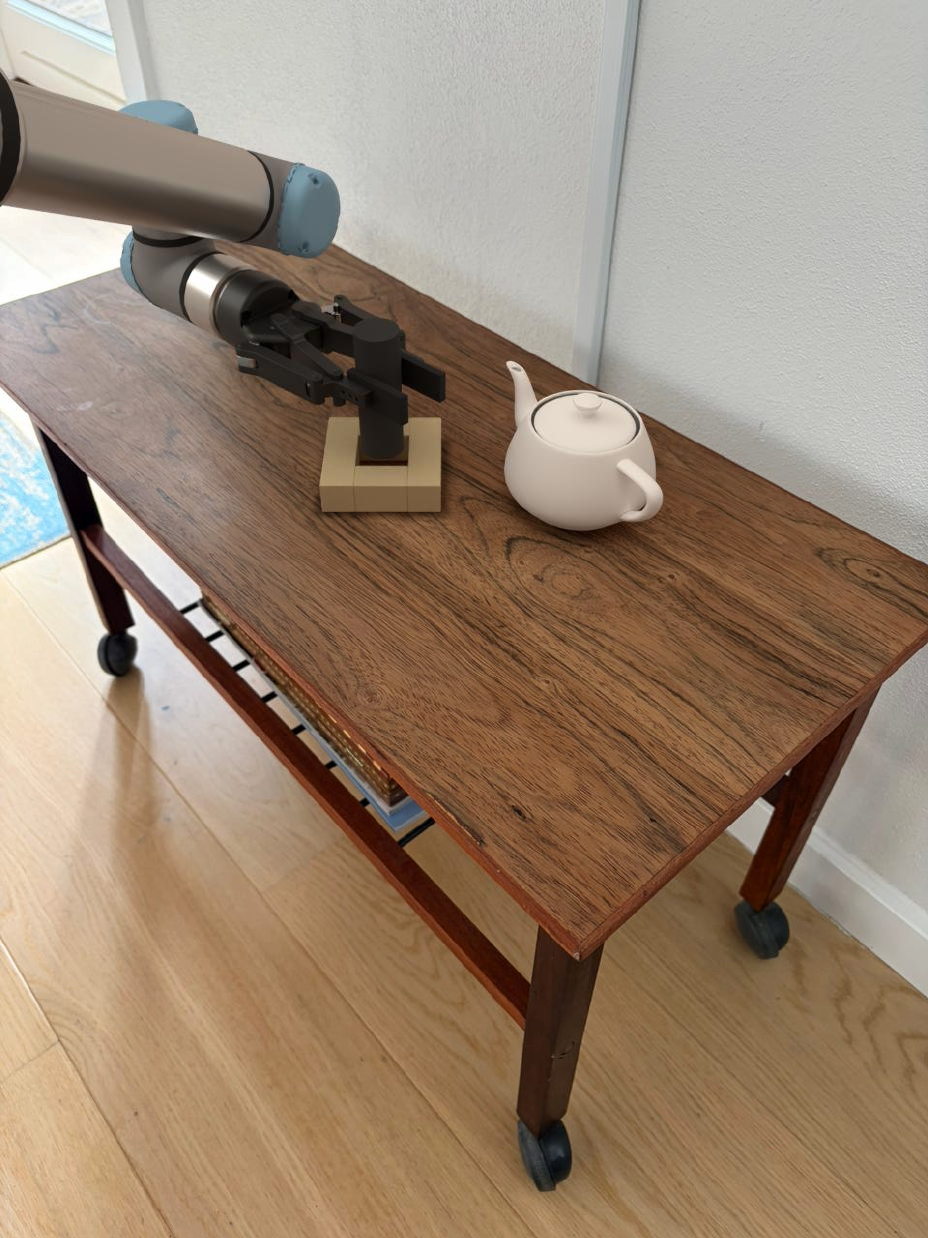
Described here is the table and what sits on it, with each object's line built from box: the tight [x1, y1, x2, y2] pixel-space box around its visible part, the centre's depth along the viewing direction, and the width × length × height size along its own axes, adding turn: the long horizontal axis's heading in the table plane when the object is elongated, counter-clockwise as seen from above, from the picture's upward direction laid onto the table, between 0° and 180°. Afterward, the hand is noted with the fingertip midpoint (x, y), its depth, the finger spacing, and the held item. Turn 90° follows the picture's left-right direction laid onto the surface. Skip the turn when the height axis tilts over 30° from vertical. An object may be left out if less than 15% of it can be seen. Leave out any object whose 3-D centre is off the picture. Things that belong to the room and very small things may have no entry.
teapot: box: [503, 360, 664, 532], centre depth 91 cm, size 22×14×11 cm, turn 33°
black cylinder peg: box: [353, 317, 404, 460], centre depth 90 cm, size 4×4×12 cm
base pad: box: [318, 416, 442, 513], centre depth 96 cm, size 11×11×3 cm
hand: (423, 398), depth 87 cm, fingers closed on black cylinder peg, 4 cm apart
